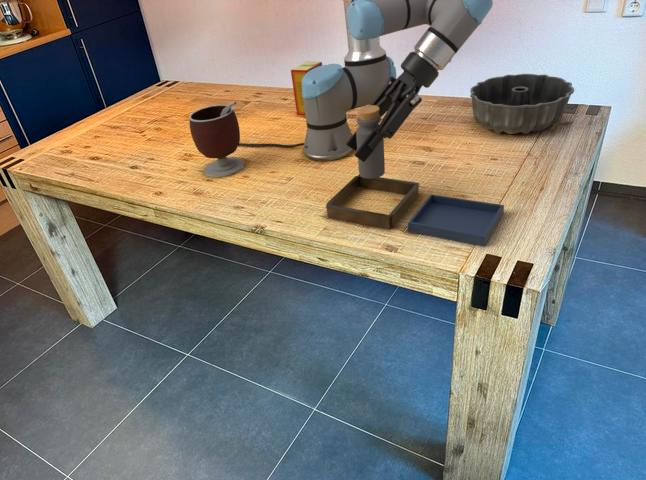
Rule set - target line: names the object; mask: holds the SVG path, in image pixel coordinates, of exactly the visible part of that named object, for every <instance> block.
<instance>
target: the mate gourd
mask: <svg viewBox="0 0 646 480" xmlns="http://www.w3.org/2000/svg"><path fill="white" fill-rule="evenodd" d="M235 105H237V101H232V102H231V103H229V104H213V105H209V106H204V107H201V108H199V109H197V110H194V111H193V112H191V113H190V114H189V115H188V119H189V131H190V134H191V138H192V141H193V142H194V146H195V147H196V150H197V151H198V152H199V153H200V154H201V155H202V156H203V157H205V158H208V159H216V160H213V161H212V162H209V163H208V164H206V165H205V167H204V169H203V173H204V174H205V176H207V177H210V178H223V177H228V176H232V175H235V174H236V173H238V172H240V171H242V170H243V169H244V167H245V162H244V159H242V158H240V157H236V156H235V157H234V156H233V157H228V156H230V155H232V154H234V153H235V152H236V151H237V149H238V147H239V146H240V145H239V143H241V129H240V125H239V121H238V117H237V115H236V112H235V110H234V107H233V106H235Z"/></svg>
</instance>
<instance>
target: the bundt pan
mask: <svg viewBox="0 0 646 480" xmlns="http://www.w3.org/2000/svg"><path fill="white" fill-rule="evenodd" d="M469 91H470V95H469V96H470V98H471V105H472V116H473V120H474V121H475V122H476V123H477V124H479V125H480V126H482V128H484V129H486V130H492V131H494V133H496V134H500V133H503V132H504V133H506V134H509V135H514V134H518V133H521V134H522V135H527V134H529V133H530V132H535V133H536V132H540V131H544V130H545V129H548V128H549V129H550V128H552V127H554V126H555V125H556V124H557V123H558V122H559V121H560V119H561V118H562V116H563V115H564V113H565V111H566V109H567V106H568V104H569V100H570V98H571V95H572V94H574V92H575V87H573V83H572V82H569V81H567V80H566V79H564V78H562V77H558V76H552V75H551V76H550V75H548V74H535V73H520V74H519V73H518V74H506V75H505V74H504V75H503V76H494V77H489V78H487V79H485V80H484V81H478V82H477V83H476V84H475V85H473V86H472V87H471V88H470V90H469Z"/></svg>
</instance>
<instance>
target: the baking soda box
mask: <svg viewBox="0 0 646 480" xmlns="http://www.w3.org/2000/svg"><path fill="white" fill-rule="evenodd" d="M319 66H323V62H322V61H304V62H303V63H301V64H299V65H297V66H296V67H294V68H292V69H290V74H291V82H292V89H293V96H294V103H295V110H296V115H297V116H301V117H303V116H304V117H306V116H305V109H304V101H303V97H302V79H303V77H304V76H305V74H306V73H308V72H309V71H311V70H312V69H314V68H317V67H319Z"/></svg>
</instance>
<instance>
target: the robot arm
mask: <svg viewBox="0 0 646 480" xmlns="http://www.w3.org/2000/svg"><path fill="white" fill-rule="evenodd" d="M342 1H343V9H344V18H345V19H344V20H345V29H346V37H347V49H348V52H347V53H346V54H345V56H344V58H343V61H344V67H343V66H342V65H341V64H339V63H329V64H322V66H319V67H317V68H314V69H312V70H311V71H309V72H308V73H306V74H305V76H304V77H303V79H302V97H303V101H304V109H305V116H304V117H305V123H306V131H305V132H306V133H305V137H304V142H300V143H299V142H298V143H295V144H280V143H247V142H246V143H244V142H239V145H238V146H243V147H277V148H278V147H279V148H290V149H291V148H297V147H302V146H303V153H304V156H305V158H307V159H309V160H311V161H318V162H329V161H330V162H331V161H336V160H339V159H342V158H345V157H348V156H349V155H351V154H352V153H353V152H354V151H355V153H354V154H353V155H354V157H356V158H357V160H358V159H360V160H361V161H363V162H365V161H366V159H367V158H368V157H369V156H370V154H371V153H372V152H373V151H374V149H375V148H376V147H377V146H378V144H379V143H380V142H381V141H382V139H383V138H384V139H386V138H388V139H389V140H391V139H392V138H393V137H394V136H395V135H396V133H397V131H398V130H399V129H400V127H401V126H402V125H403V124H404V122H405V121H406V120H407V119H408V117H409V116H410V114H411V113H412V112H413V111H414V110H415V109H416V107H418V105H420V104H421V103H422V101H423V98H422V97H421V96H420V95H419V93H420V92H421V89H422V87H424V88H426V89H428V88H430V87H431V86H432V84H433V83H434V82H435V81H436V79H437V78H438V77H439V74H440V72H439V71H444V69H445V68H446V66H447V65H448V64H449V63H451V62H452V59H453V58H454V57H455V55H456V54H457V53H458V52H459V50H460V49H461V48H462V47H463V46H464V44H465V43H466V42H467V40H469V38H470V37H471V36H472V34H474V32H475V31H476V30H477V29H478V27H479V26H480V25H482V24H483V23H482V22H483V21H484V20H485V18H486V17H487V15H488V14H489V13H490V11H491V10H492V8H493V6H494V5H493V4H494V2H493V0H342ZM423 25H427V26H429V27H428V28H427V29H426V30H425V32H424V33H423V34H422V36H421V37H420V39H419V40H418V41H417V42H416V44H415V45H414V46H413V50H414V51H411V52H410V51H409V53H408V55H406V57H405V59H404V60H402V62H401V64H400V69H401V70H403V72H402V73H401V74H400V75H399V76H398V77H397V68H396V66H395V62H394V60H393V58H391V57H390V56H389V55H387V50H386V49H384V48H383V47H382V46H381V41H380V40H381V39H380V37H383V36H386V35H389V34H393V33H397V32H400V31H404V30H408V29H412V28H416V27H420V26H423ZM368 105H375V106H378V107H379V108H380V109H379V115H380V116H381V118H382V117H383V118H382V119H381V121H380V122H379V126H378V128H374V129H373V131H372V132H371V134H370V135H369V136H368V138H367V139H366V140H365V141H364V143H363V144H362V145H361V146H360V148H359V149H358V150H357V139H356V130H354V133H352V130H351V129H350V126H349V124H348V120H347V119H348V118H347V117H348V116H347V112H348V111H352V110H356V109H359V108H360V107H363V106H368Z"/></svg>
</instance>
